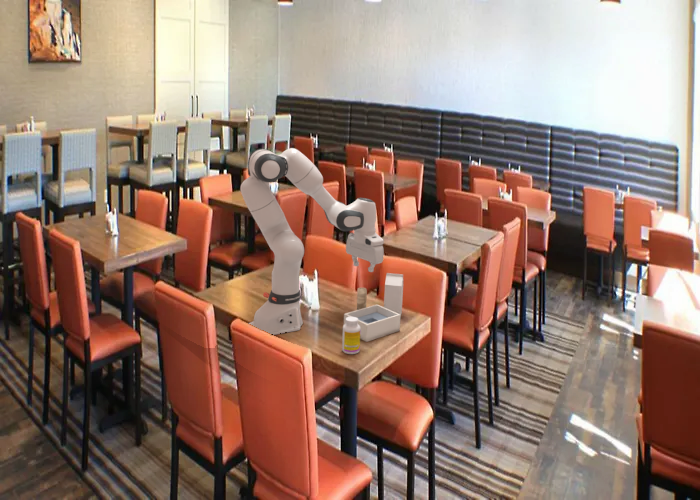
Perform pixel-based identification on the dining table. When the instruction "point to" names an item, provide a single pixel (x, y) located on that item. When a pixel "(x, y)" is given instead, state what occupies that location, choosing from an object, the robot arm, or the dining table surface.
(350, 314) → the socket box
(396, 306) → the milk carton
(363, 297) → the peg
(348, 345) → the supplement bottle
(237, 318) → the dining table surface
